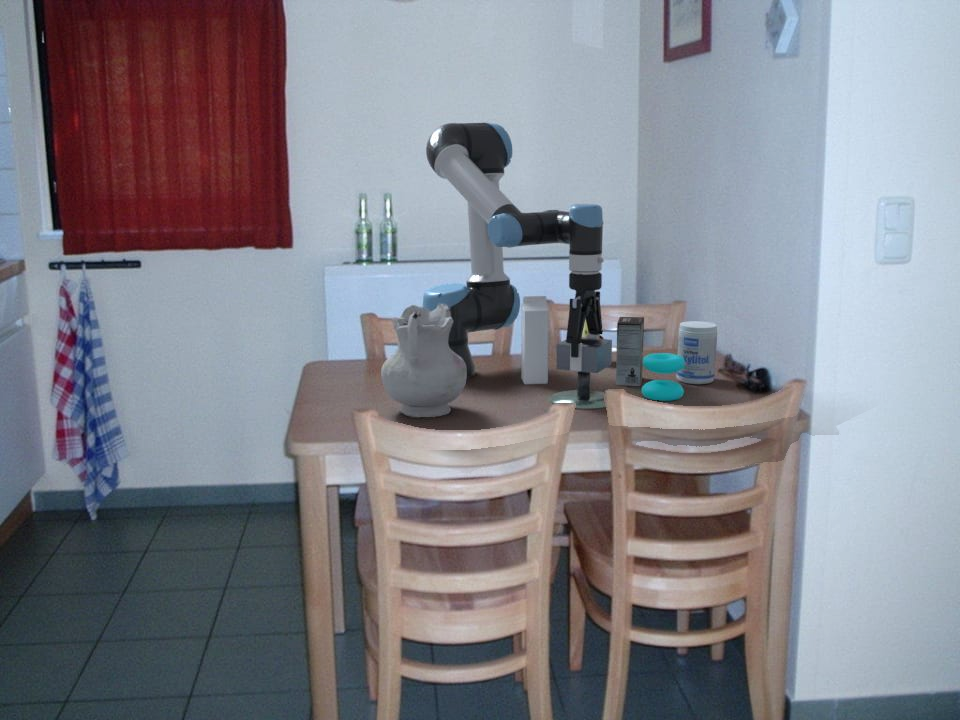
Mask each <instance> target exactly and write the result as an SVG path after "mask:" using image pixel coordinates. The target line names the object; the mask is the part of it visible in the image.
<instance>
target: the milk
mask: <svg viewBox="0 0 960 720" xmlns="http://www.w3.org/2000/svg"><path fill="white" fill-rule="evenodd" d="M547 298H548V297H547V296H546V295H539V296H537V295H534V296H531V295H530V296H523V298H522V305H521V334H520V335H521V339H520V340H521V344H520V345H521V352H520V353H521V357H520V358H521V365H520V366H521V367H520V369H521V371H520V372H521V376H520V377H521V380H522V382H523V385H547V384H548V380H549V378H548V377H549V371H548V370H549V309H548V307H549V306H548V302H547Z"/></svg>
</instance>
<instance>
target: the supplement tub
mask: <svg viewBox="0 0 960 720" xmlns="http://www.w3.org/2000/svg"><path fill="white" fill-rule="evenodd" d="M677 341H678V342H677V355H679V356H681V357H682V358H683V359H684V360H685V366H684V367H683V369H681V370H680V371H678V372H676V379H677V381H679V382H681V383H684V384H689V385H705V384H707V385H708V384H711V383H713V382H714V381H715V374H716V362H717V361H716V360H717V359H716V358H717V345H718V344H717V341H718V325H717V324H716V323H714V322H708V321H698V320H695V321H694V320H692V321H691V320H690V321H682V322H680V323H679V329H678V340H677Z"/></svg>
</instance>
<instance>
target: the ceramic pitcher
mask: <svg viewBox="0 0 960 720" xmlns="http://www.w3.org/2000/svg"><path fill="white" fill-rule="evenodd" d="M438 304H439V305H438ZM438 304H437V308H436V309H435V310H433V311H429V310H428V309H426V308H424V307H422V306H419V305H416V304H411V305H410V306H407V307H406V308H404V310H403V312H402V313H401V315H400V317H397V316H396V317H393V318H392V320H391V322H392V327H393V329H394V331H395V332H396V333H395V334H396V337H397V348H396V349H395V351H394V352H393V354H391V355H390V356H389V357H388V358H386V360H385V361H384V363H383V364H382V367H381V369H380V370H381V371H380V376H381V381H382V384H383V387H384V389H385V392H386V393H387V395H388V396H389V397H390V399H392V400H393V401H394V402H397V403H399V404H402V406H401V408H400V409H399V410H398V412H399V413H401V414H402V415H404V416H407V417H410V418H420V417H433V418H436V417H435V416H437V417H443V416H446V415H447V414H450V412H451V408H450V406H449V405H448V403H451V402H453V401H455V400H456V399H458V397H459V396H460V395H461V393H462V392H463V390H464V388H465V387H466V383H467V379H468V378H467V369H466V364H465V362H464V360H463V359H462V358H461V357H460V356H458V355H457V354H456V353H455V352H453V351H452V350H451V349H450V347H449V344H448V339H449V333H450V330H451V327H452V324H453V322H454V321H453V319H452V318H451V312H450V310H449V309H450V308H448V306H447V305H446V304H441V303H438ZM442 415H443V416H442Z"/></svg>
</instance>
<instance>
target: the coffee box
mask: <svg viewBox="0 0 960 720" xmlns="http://www.w3.org/2000/svg"><path fill="white" fill-rule="evenodd" d="M644 326H645V317H644V316H619V318H618V321H617V325H616V364H615V365H616V368H615V369H616V370H615V371H616V372H615V385H616V386H626V387H627V386H628V387H630V386H631V387H632V386H634V387H641V385H642V381H643V369H644V368H643V367H644V366H643V363H642V361H643V358H644V339H645V337H644V335H645V334H644V333H645V331H644V328H645V327H644Z"/></svg>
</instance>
